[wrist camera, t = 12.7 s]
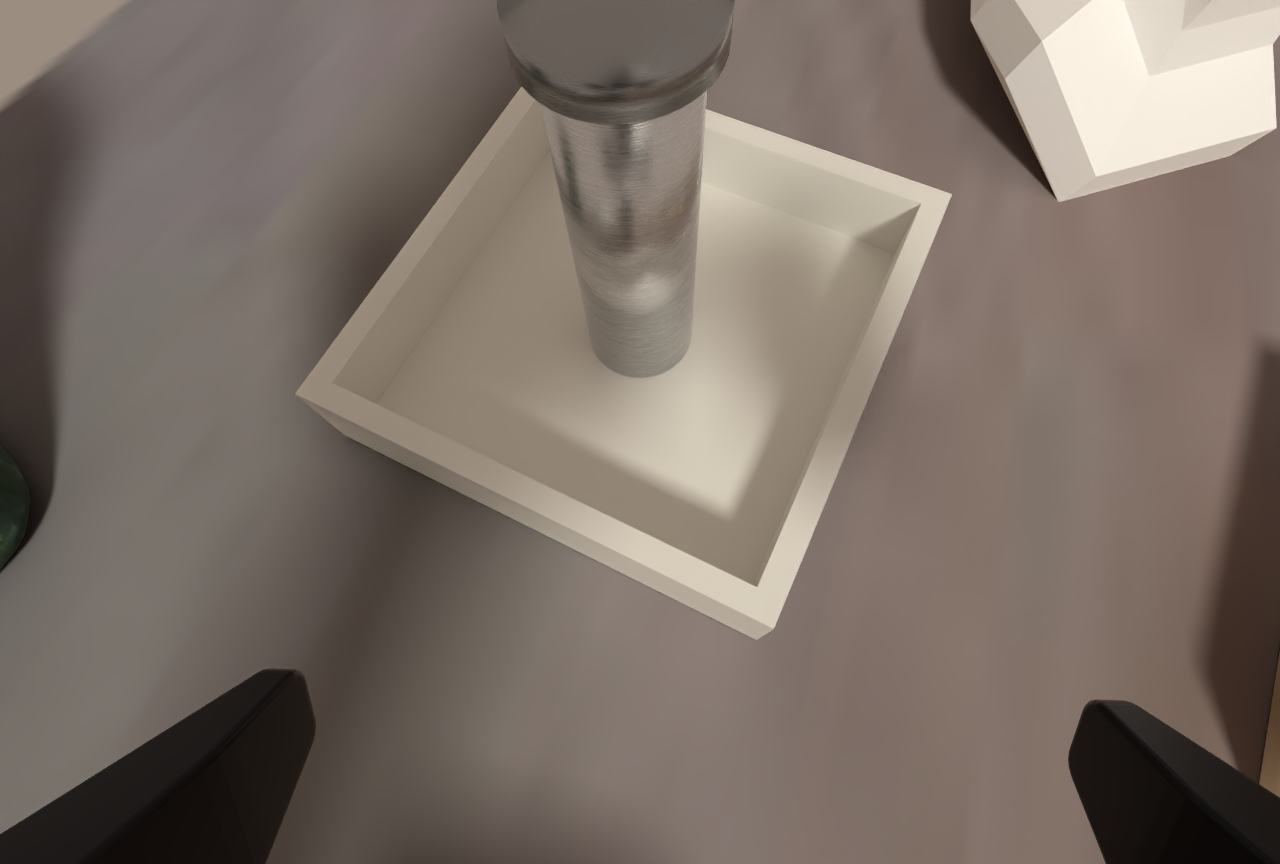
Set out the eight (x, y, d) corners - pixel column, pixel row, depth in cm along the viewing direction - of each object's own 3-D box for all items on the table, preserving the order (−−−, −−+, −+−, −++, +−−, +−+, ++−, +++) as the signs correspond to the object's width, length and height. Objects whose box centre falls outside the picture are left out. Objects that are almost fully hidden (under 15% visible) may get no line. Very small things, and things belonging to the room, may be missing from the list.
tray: (756, 639, 21) (773, 628, 18) (344, 435, 24) (295, 393, 21) (915, 257, 26) (952, 194, 23) (558, 126, 29) (545, 53, 26)
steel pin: (724, 358, 24) (778, 29, 12) (607, 407, 23) (546, 111, 12) (671, 262, 25) (673, -112, 14) (560, 306, 25) (465, -44, 13)
